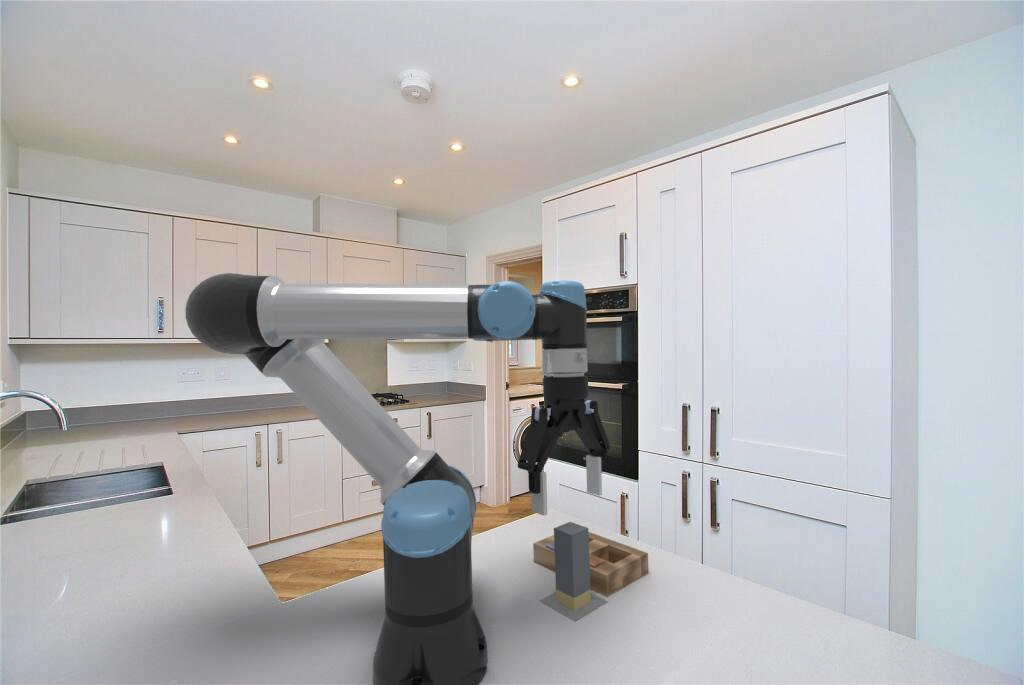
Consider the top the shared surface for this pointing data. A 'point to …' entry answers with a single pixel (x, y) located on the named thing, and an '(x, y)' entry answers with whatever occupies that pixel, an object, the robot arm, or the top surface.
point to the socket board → (608, 572)
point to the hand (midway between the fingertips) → (568, 502)
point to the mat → (572, 614)
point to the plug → (572, 565)
